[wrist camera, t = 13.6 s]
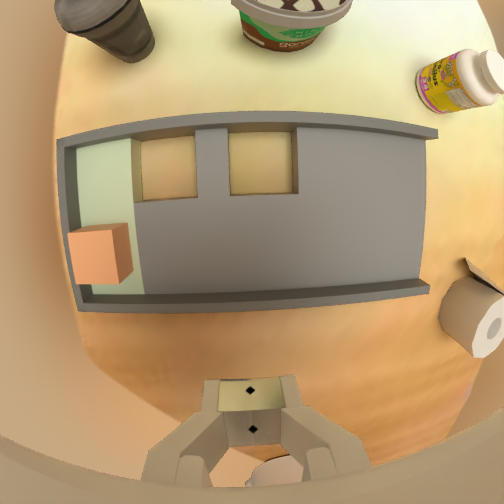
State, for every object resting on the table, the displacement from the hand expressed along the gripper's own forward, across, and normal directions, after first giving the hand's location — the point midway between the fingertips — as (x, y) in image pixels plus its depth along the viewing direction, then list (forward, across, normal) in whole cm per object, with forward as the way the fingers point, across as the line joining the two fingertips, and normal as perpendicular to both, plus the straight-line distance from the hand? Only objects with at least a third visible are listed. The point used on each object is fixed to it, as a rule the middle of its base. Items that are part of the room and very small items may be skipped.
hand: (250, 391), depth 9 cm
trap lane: (+22, +1, +4) cm, 23 cm away
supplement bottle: (+22, +26, +19) cm, 39 cm away
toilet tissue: (+23, +32, -10) cm, 41 cm away
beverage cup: (+22, -11, +24) cm, 35 cm away
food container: (+22, +7, +24) cm, 33 cm away
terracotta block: (+19, -14, +1) cm, 24 cm away
